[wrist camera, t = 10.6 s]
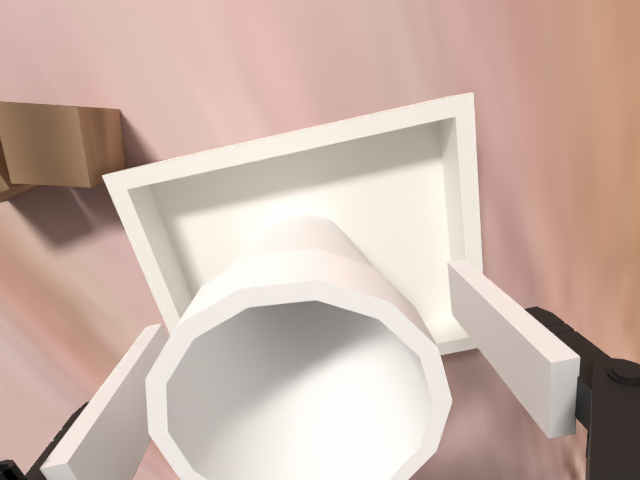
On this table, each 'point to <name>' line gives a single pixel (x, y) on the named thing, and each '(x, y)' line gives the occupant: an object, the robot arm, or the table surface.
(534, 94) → the table surface
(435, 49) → the table surface
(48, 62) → the table surface
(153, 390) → the foam cup
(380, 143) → the tray
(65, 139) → the walnut block
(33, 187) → the walnut block
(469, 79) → the table surface
